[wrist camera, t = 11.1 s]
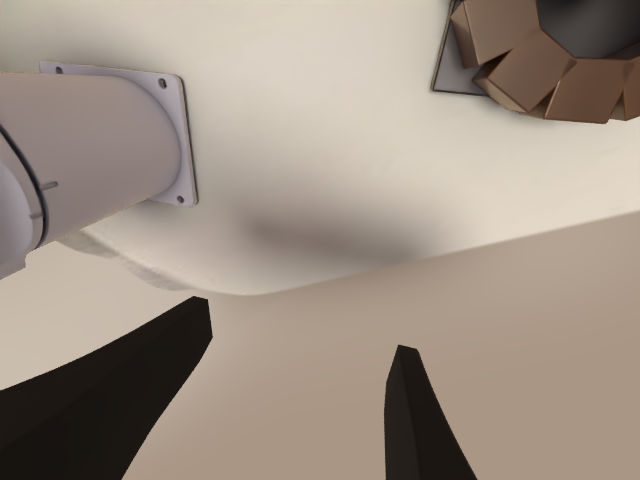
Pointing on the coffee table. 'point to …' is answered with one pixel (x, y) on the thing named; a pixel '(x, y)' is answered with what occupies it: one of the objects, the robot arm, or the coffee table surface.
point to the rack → (560, 23)
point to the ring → (543, 66)
